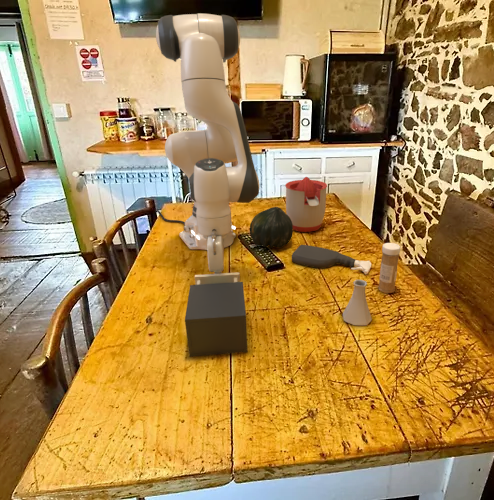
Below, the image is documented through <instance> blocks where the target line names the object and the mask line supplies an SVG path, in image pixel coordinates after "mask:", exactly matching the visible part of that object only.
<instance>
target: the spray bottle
mask: <svg viewBox="0 0 494 500" xmlns="http://www.w3.org/2000/svg"><path fill="white" fill-rule="evenodd" d="M291 262H293V263H294V264H297V265H300V266H306V267H310V268H315V269H316V268H317V269H326V268H331V267H333V266H335V265H340V266H345V267H350V270H352V271H362V272H363V274H364V275H367V274H368V273H369V272H370V270H371V268H372V262H371V261H370V260H358V259H355V258H353V257H351V256H349V255H346V254H343V253H341V252H339V251H336V250H333V249H330V248H325V247H320V246H315V245H308V244H300V245H299V246H298V247H297V248H296V249H295V250H294V251H293V252H292V254H291Z"/></svg>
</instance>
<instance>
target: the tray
mask: <svg viewBox="0 0 494 500" xmlns="http://www.w3.org/2000/svg"><path fill="white" fill-rule="evenodd" d="M240 275H241V273H240V272H239V271H238V272H237V271H236V272H224V273H222V272H221V274H215V273H206V274H204V273H203V274H194V282H195V283H194V285H199V284H214V283H230V282H241V276H240Z"/></svg>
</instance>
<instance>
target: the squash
mask: <svg viewBox="0 0 494 500" xmlns="http://www.w3.org/2000/svg"><path fill="white" fill-rule="evenodd" d="M293 232H294V229H293V224H292V221H291V219H290V217H289V216H288V215H287V213H286V212H285V211H284V210H283V209H282V208H281V207H278V206H274V207H270V208H267V209H264V210H262V211H260V212H258V213H256V214H255V215H254V216H253V218H252V220H251V222H250V223H249V234H250V235H249V236H250V237H251V239H252V243H254V245H256V246H258V247H264V248H268V247H270V248H276V249H281V248H284V247H285V246H287V245H288V244H289V243H290V242H291V240H292V238H293V234H294V233H293ZM262 245H263V246H262Z"/></svg>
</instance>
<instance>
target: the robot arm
mask: <svg viewBox="0 0 494 500" xmlns="http://www.w3.org/2000/svg"><path fill="white" fill-rule="evenodd" d="M155 40H156V44H157V47H158V49H159V51H160V53H161V55H162V56H164V58H166V59H168V60H170V61H173V62H174V63H177V61H178V60H180V81H181V91H182V96H183V97H182V98H183V102H184V104H183V105H184V109H185V111H186V113H187V114H188V115H189V116H190V117H192V118H194V119H195V120H198V121H200V122H203V123H204V124H205V126H206V129H204V130H203V129H199V130H198V129H197V130H183V131H179V132H175V133H171V134H169V135H168V136H167V138H166V141H165V143H164V152H165V156H166V158H167V159H168V161H169V162H170V163H171V164H172V165H174V166H175V167H177V168H178V169H179V170H181V172H183V173H184V175H185V176H186V177H187V179H188V183H189V191H190V198H191V199H192V201H193V204H192V206H191V208H192V209H191V211H192V212H191V215H190V216H189V217H188V218H186V220H185V221H183V220H179V219H168V218H165V217H164V215H163V214H162V213H161V211H160V210H159V209H156V210H155V211H154V213H158V215H159V216H160V217H161V219H162V220H163V221H165V222H168V223H181V224H183V225H184V226H183V230H182V231H181V232H179V235H178V236H179V238H181V240H182V241H183V243H184V244H185V245H186V247H188V249H189V250H204V251H206V252H207V263H208V264H207V265H208V266H207V267H208V271H209V272H210V273H214V274H221V273H222V272H223V271H224V267H225V256H224V255H225V248H227V247H230V246H231V245H232V244H233V243H234V239H235V238H236V237H237V234H236V232H234V230H236V226H235V225H233V221H232V210H231V207H230V203H238V204H249V203H251V202H252V201H254V200H255V199H256V198H257V197H258V196H259V193H260V188H261V187H260V179H259V175H258V173H257V170H256V168H255V163H254V159H253V156H252V152H251V147H250V146H251V145H250V142H249V137H248V134H247V129H246V124H245V121H244V117H243V114H242V111H241V108H240V106H239V104H238V103H236V102H235V101H233V100H232V98H231V97H230V95H229V93H228V91H227V87H226V78H225V77H226V76H225V69H224V68H225V67H224V63H226V62H227V60H230V59H232V58H234V57H235V56H236V55H237V54H238V53H239V52H238V51H239V48H240V45H241V32H240V29H239V26H238V23H237V20H235V18H234V17H232V16H230V15H226V14H221V15H219V14H218V15H217V14H211V13H201V12H200V13H191V14H190V13H189V14H188V13H187V14H178V15H173V14H168V15H164V16H161V17H160V18H159V19H158V21H157V26H156V30H155ZM234 162H237V164H236V165H234V166H226V164H231V163H234Z"/></svg>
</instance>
